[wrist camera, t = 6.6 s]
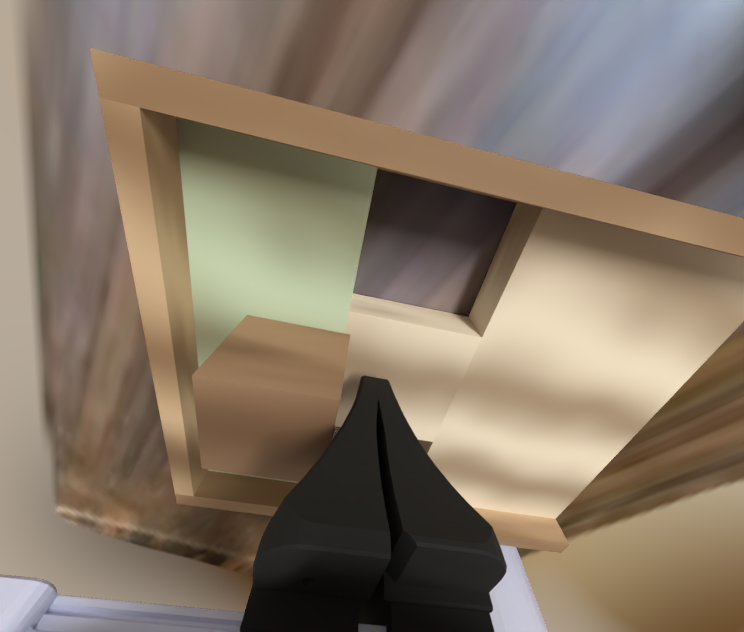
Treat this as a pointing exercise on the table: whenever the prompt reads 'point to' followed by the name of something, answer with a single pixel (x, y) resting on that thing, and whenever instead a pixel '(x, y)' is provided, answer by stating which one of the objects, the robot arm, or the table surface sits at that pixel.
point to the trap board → (402, 321)
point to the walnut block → (269, 398)
